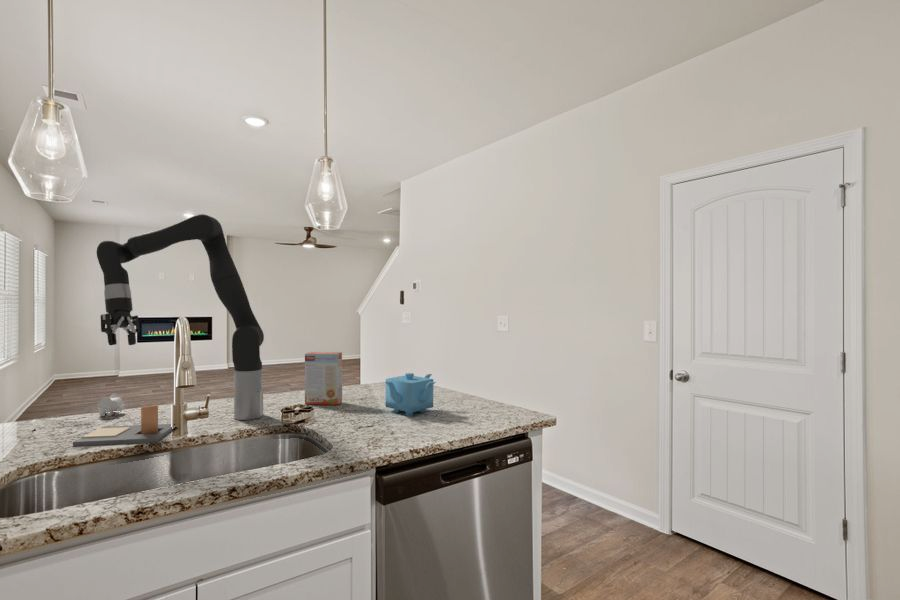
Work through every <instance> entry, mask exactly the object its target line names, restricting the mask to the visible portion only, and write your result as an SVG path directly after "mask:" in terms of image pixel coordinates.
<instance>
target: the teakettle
mask: <svg viewBox="0 0 900 600" xmlns="http://www.w3.org/2000/svg"><path fill="white" fill-rule="evenodd" d="M431 376H433V373H428V374H425V376H423V377H422V376H419V375H418V376H417V375H415V373H413V372H408V373H404V375H400V376H393V377H389V378H385V381H384V384H385V408H389V409H393V410H392V411H391V412H392V413H394V414H398V413H400V412H405V416H406V417H413V416H414V413H417V412H419V413H427V409H431V408H434V384H436V383H437V382H436V381H434V378H430V377H431Z"/></svg>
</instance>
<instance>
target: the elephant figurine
mask: <svg viewBox="0 0 900 600" xmlns="http://www.w3.org/2000/svg"><path fill="white" fill-rule="evenodd" d="M96 405H98V409H97V411H98V414H99V416H100V417H106V416H107V417H111V416H113V415H115V414H117V413H118V414H119V413H121V412H123V411H122V410H124V411H125V407H126V408H129V406H128V405H127V404H125V403H124V402H123V398H121V397H120V395H119V394H118V393H112V394H111V395H110V396H109V397H102V398H101V399H100V401H99V402H98V403H97V404H96ZM113 411H120V412H113ZM106 412H107V413H106ZM108 412H110V413H108ZM114 413H115V414H114ZM105 414H106V415H105Z"/></svg>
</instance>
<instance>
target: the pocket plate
mask: <svg viewBox="0 0 900 600" xmlns="http://www.w3.org/2000/svg"><path fill="white" fill-rule="evenodd" d="M171 424H172V423H163V424H160V423H158V433H156V434H141V424H139V425H138V424H137V425H135V424H134V425H115V426H114V425H111V426H109V425H108V426H102V427H100V428H97V429H95V430H93V431H91V432H89V433H87V434H85V435H82V436H81V437H80V438H78V439H75V440H74V441H72V447H79V446H81V447H82V446H83V447H84V446H102V445H105V444H106V445H125V444H124V443H128V444H144V443H145V444H146V443H148V442H149V443H156V442H159V440H161V439H163V438H164V437H165V436H167V435H169V434H170V433H171V432H172V431H171V430H172V427H171Z"/></svg>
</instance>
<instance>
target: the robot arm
mask: <svg viewBox="0 0 900 600" xmlns="http://www.w3.org/2000/svg"><path fill="white" fill-rule="evenodd" d="M193 240H194V241H195V240H198V241H200V242H201V243H202V245H203V247H204V249H205V252H206V254H207V256H208V262H209V274H210V280H211V283H212V285H213V287H214V290H215V292H216V295H217V297H218V299H219V300H220V303H221V304H222V305H223V306H224V308H225V309H226V310H227V311H228V313H229V315H230V317H231V318H232V320H233V323H234V326H235V331H234V332H233V334H232V336H231V337H232V339H231V352H232V353H231V355H232V356H231V357H232V358H231V360H232V364H233V368H234V369H233V370H234V372H233V376H234V377H233V379H234V380H233V384H234V385H233V386H234V387H233V388H234V389H233V394H234V397H233V410H234V411H233V417H234V419H235V420H236V421H237V420H239V421H249V420H255V419H261V417H262V416H263V415H264V389H263V361H262V360H261V356H260V355H261V352H260V349H261V348H260V347H261V346H262V345H263V343H264V340H265V334H264V331H263V329H262V327H261V325H260V324H259V321H258V320H257V318H256V316H255V314H254V312H253V309H252V307H251V305H250V300H249V299H248V295H247V293H246V290H245V287H244V284H243V281H242V279H241V276H240V274H239V272H238V269H237V267H236V265H235V262H234V260H233V258H232V256H231V254H230V251H229V249H228V245H227V241H226V238H225V234H224V231H223V227H222V224H221V223H220V222H219V221H218V219H217V218H215V217H212V216H210V215H208V214H205V213H201V214H200V213H198V214H195V215H193V216H190V217H189V218H187V219H184V220H181V221H179V222H177V223H174V224H172V225H170V226H169V225H168V226H166V227H164V228H159V229H157V230H152V231H149V232H148V231H147V232H145V233H141V234H136V235H134V236H131V237H128V239H127V241H126V242H124V243H119V242H116V241H114V240H110V239H109V240H103V241H101V242H100V243H99V244H98V246H97V247H96V258H97V262H98V264H99V267H100V269H101V271H102V273H103V274H102V275H103V283H104V292H103V293H104V304H105V312H106V313H103V314H100V332H101V333H104V334H106V335H107V343H108V345H109V346H115V345H117V344H118V343H117V334H116V332H117V330H118V329H119V328H120V329H122V330H123V331H125V332H126V333H127V342H128V343H127V344H128V346H134V345H136V343H137V340H136V334H137V333H140V332H141V328H140V323H139V322H140V321H139V316H138V315H132V314H131V312H132V311H133V299H132V291H131V288H130V287H131V286H130V279H129V273H128V270H126V269H125V267H123V266H122V264H126V263H129V262H131V261H133V260H135V259H137V258H139V257H140V256H146V255H148V254H153V253H156V252H159V251H161V250H164V249H166V248H169V247H170V246H172V245H174V244H177V243H180V242H181V243H182V242H186V241H193Z"/></svg>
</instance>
